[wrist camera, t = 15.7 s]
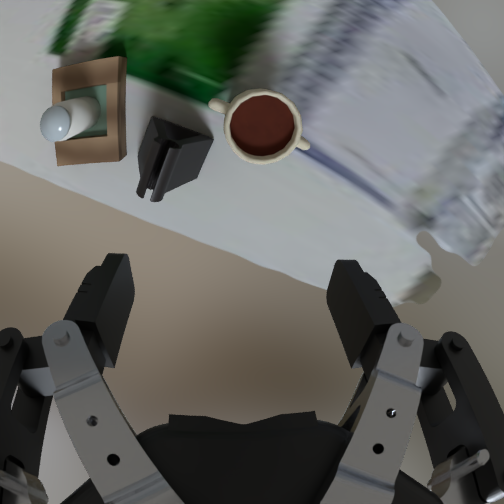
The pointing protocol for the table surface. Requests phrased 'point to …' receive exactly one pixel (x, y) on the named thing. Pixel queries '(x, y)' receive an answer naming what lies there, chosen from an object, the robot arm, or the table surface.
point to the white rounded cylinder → (69, 118)
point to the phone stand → (169, 157)
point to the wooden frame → (112, 110)
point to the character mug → (261, 125)
